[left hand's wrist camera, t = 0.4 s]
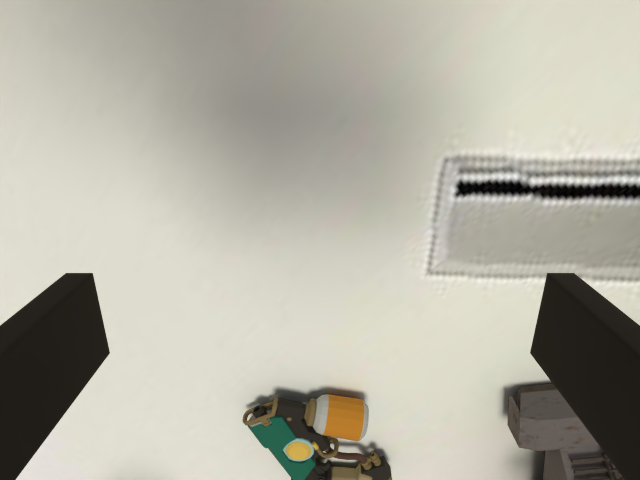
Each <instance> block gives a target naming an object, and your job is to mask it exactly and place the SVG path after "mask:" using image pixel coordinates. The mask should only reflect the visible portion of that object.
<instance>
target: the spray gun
mask: <svg viewBox="0 0 640 480" xmlns="http://www.w3.org/2000/svg"><path fill="white" fill-rule="evenodd" d="M272 405H273V406H272ZM269 406H272V407H271V409H270V407H269ZM250 413H253V416H252V417H251V418H250V419H249V421H247V417H248V415H249V414H250ZM368 417H369V410H368V406H367V405H366V403H365V402H364V401H363V400H362V399H356V398H349V397H343V396H336V395H329V394H326V395H321V396H320V397H319V398H317V399H313V398H311V399H310V401H309V402H308V403H307V404H306V405H305V404H303V403H299V402H295V401H290V400H286V399H281V398H279V399H278V397H274V399H273V401H272V402H269V403H266V404H263V405H260V406H256V407H255V408H252V409H249V410H248V411H246V412H245V414H244V417H243V423H244V424H245V425H248V427H249V428H250V430H251V431H252V432H253V434H254V435H255V436H256V438H257V439H258V440H259V442H260V443H261V444H262V446H264V447H265V448H269V450H270V451H271V452H272V454H273V455H274V456H275V458H276V459H277V460H278V461H279V463H280V464H281V465H282V467H284V469H285V470H286V471H287V473H288V474H289V475H290V477H291V480H392V477H391V469H390V466H389V464H388V463H387V461H386V459H385V458H384V456H382V457H379V456H378V455H377V454H376V453H375V452H372V453H371V454H370V457H369V458H367V457H366V456H364V455H362V454H358V453H341V452H338V447H339V445H338V440H337V439H336V438H331V439H327V437H326V436H331V437H337V438H342V439H348V440H354V441H359V440H361V439H362V438H363V437H364V436H365V434H366V431H367V426H368ZM304 418H305V419H304ZM332 442H334V450H333V449H332V448H331V447H330V443H332ZM322 451H326V452H327V453H323V452H322ZM319 455H320V456H321V457H323V458H331V457H335V458H338V459H346V460H360V463H359V464H358V466H357V467H356V468H347V467H332V466H331V464H330V462H327V463H325V464H322V463H318V462H316V458H317V457H318V456H319Z"/></svg>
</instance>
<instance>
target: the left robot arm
mask: <svg viewBox="0 0 640 480" xmlns="http://www.w3.org/2000/svg"><path fill="white" fill-rule="evenodd" d="M109 353H110V352H109V347H108V343H107V338H106V333H105V329H104V324H103V319H102V315H101V310H100V305H99V301H98V296H97V291H96V287H95V282H94V277H93V273H66V274H65V275H63V276H62V277H61V278H59V279H58V280H57V281H56V282H54V283H53V284H52V285H51V286H49V287H48V288H47V289H46V290H44V291H43V292H42V293H41V294H39V295H38V296H37V297H36V298H34V299H33V300H32V301H31V302H29V303H28V304H27V305H26V306H24V307H23V308H22V309H21V310H19V311H18V312H17V313H16V314H14V315H13V316H12V317H11V318H9V319H8V320H7V321H6V322H4V323H3V324H2V325H1V326H0V480H15V479H16V478H17V477H18V475H19V474H20V473H21V471H22V470H23V469H24V467H25V466H26V465H27V463H28V462H29V461H30V459H31V458H32V457H33V455H34V454H35V453H36V451H37V450H38V449H39V447H40V446H41V445H42V443H43V442H44V441H45V439H46V438H47V436H48V435H49V434H50V432H51V431H52V430H53V428H54V427H55V426H56V424H57V423H58V422H59V420H60V419H61V418H62V416H63V415H64V414H65V412H66V411H67V410H68V408H69V407H70V406H71V404H72V403H73V402H74V400H75V399H76V398H77V396H78V395H79V394H80V392H81V391H82V389H83V388H84V387H85V385H86V384H87V383H88V381H89V380H90V379H91V377H92V376H93V375H94V373H95V372H96V371H97V369H98V368H99V367H100V365H101V364H102V363H103V361H104V360H105V359H106V357H107V356H108V355H109ZM530 353H531V355H532V356H533V357H534V359H535V360H536V361H537V363H538V364H539V365H540V367H541V368H542V369H543V371H544V372H545V373H546V375H547V376H548V377H549V379H550V380H551V381H552V383H553V384H554V385H555V387H556V388H557V389H558V391H559V392H560V394H561V395H562V396H563V398H564V399H565V400H566V402H567V403H568V404H569V406H570V407H571V408H572V410H573V411H574V412H575V414H576V415H577V416H578V418H579V419H580V420H581V422H582V423H583V424H584V426H585V427H586V428H587V430H588V431H589V432H590V434H591V435H592V436H593V438H594V439H595V441H596V442H597V443H598V445H599V446H600V447H601V449H602V450H603V451H604V453H605V454H606V455H607V457H608V458H609V459H610V461H611V462H612V463H613V465H614V466H615V467H616V469H617V470H618V471H619V473H620V474H621V475H622V477H623V478H624V479H625V480H640V326H639V325H638V324H637V323H636V322H634V321H633V320H632V319H631V318H629V317H628V316H627V315H626V314H624V313H623V312H622V311H621V310H619V309H618V308H617V307H616V306H614V305H613V304H612V303H611V302H609V301H608V300H607V299H606V298H604V297H603V296H602V295H601V294H599V293H598V292H597V291H596V290H594V289H593V288H592V287H591V286H589V285H588V284H587V283H586V282H584V281H583V280H582V279H581V278H579V277H578V276H577V275H575V274H574V273H547V277H546V282H545V287H544V291H543V296H542V301H541V305H540V310H539V315H538V319H537V324H536V329H535V333H534V338H533V343H532V347H531V352H530Z"/></svg>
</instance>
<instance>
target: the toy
mask: <svg viewBox="0 0 640 480" xmlns="http://www.w3.org/2000/svg"><path fill="white" fill-rule="evenodd" d="M508 427H509V429H510V430H511V432H512V434H513V436H514V438H515V440H516V442H517V444H518V446H519V447H520V448H525V449H530V450H535V451H543V450H546V451H545V462H544V474H543V480H625V479H624V478H623V477H622V475H621V474H620V473H619V471H618V470H617V469H616V467H615V466H614V465H613V463H612V462H611V461H610V459H609V458H608V457H607V455H606V454H605V453H604V451H603V450H602V449H601V447H600V446H599V445H598V443H597V442H596V441H595V439H594V438H593V436H592V435H591V434H590V432H589V431H588V430H587V428H586V427H585V426H584V424H583V423H582V422H581V420H580V419H579V418H578V416H577V415H576V414H575V412H574V411H573V410H572V408H571V407H570V406H569V404H568V403H567V402H566V400H565V399H564V398H563V396H562V395H561V394H560V392H559V391H558V389H557V388H556V387H555V385H554V384H553V383H552V384H542V385H533V386H523V387H520V388H519V390H518V395H517V405H516V403H515V401H514V399H513V397H512V396H511V397H509V408H508Z"/></svg>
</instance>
